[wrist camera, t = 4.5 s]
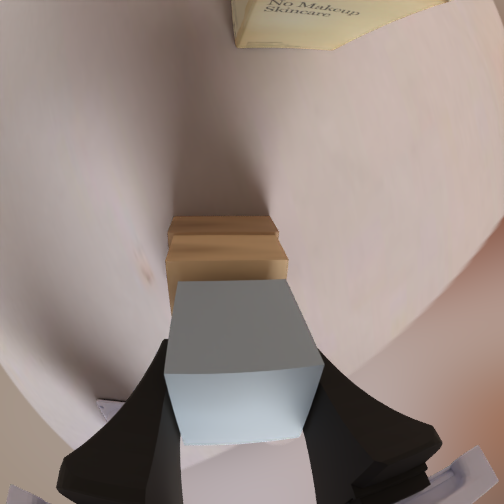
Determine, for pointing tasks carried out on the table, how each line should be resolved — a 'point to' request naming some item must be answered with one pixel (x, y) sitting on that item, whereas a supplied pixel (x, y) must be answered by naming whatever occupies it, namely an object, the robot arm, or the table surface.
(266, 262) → the tower mid
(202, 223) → the tower base
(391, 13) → the skincare box
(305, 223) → the table surface
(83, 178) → the table surface
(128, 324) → the table surface
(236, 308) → the blue block
